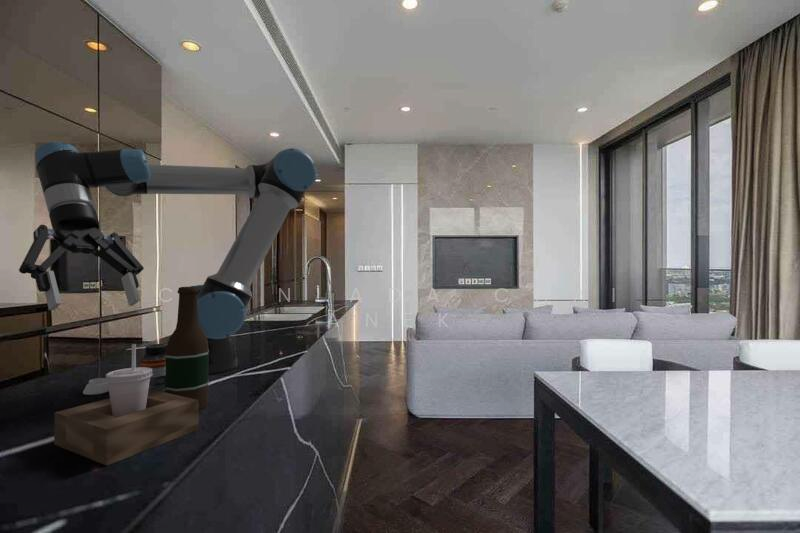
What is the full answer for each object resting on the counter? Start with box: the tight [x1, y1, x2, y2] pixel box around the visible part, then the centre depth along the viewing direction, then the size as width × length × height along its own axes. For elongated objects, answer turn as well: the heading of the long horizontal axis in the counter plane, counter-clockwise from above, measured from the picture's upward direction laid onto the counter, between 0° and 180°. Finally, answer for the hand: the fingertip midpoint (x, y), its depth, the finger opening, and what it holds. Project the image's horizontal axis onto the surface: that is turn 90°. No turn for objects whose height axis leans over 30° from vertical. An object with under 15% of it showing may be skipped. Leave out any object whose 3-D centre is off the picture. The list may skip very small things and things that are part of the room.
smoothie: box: [105, 343, 153, 417], centre depth 64 cm, size 6×6×14 cm
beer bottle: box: [166, 286, 209, 411], centre depth 78 cm, size 8×8×24 cm
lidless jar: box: [82, 377, 109, 396], centre depth 88 cm, size 5×3×5 cm
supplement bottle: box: [139, 343, 168, 393], centre depth 84 cm, size 6×6×11 cm
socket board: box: [53, 389, 200, 466], centre depth 64 cm, size 14×15×5 cm
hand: (98, 304), depth 75 cm, fingers open, 13 cm apart
